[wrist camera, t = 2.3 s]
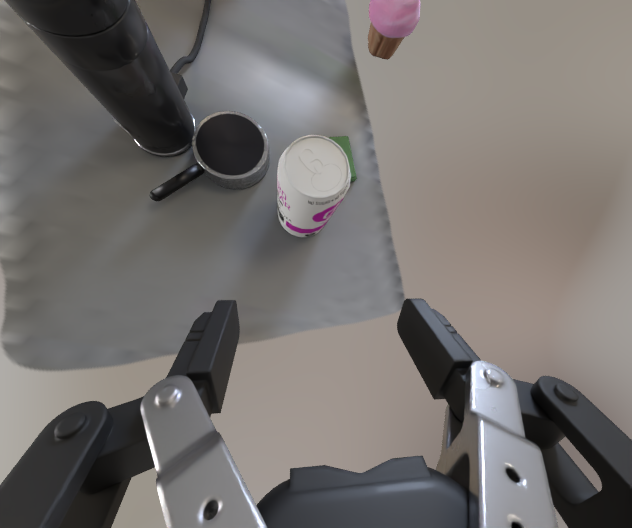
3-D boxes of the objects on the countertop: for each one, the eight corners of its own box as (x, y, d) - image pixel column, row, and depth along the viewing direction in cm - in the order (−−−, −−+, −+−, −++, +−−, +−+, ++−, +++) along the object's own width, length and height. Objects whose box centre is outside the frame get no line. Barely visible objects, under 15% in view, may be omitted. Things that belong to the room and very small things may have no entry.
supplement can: (336, 217, 40) (370, 172, 25) (300, 248, 38) (314, 219, 23) (304, 181, 39) (319, 115, 25) (267, 211, 38) (260, 158, 23)
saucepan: (241, 115, 39) (237, 97, 36) (282, 165, 39) (283, 152, 36) (137, 177, 35) (121, 164, 32) (183, 233, 35) (173, 226, 32)
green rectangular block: (327, 140, 41) (329, 135, 40) (346, 139, 42) (348, 134, 40) (336, 183, 40) (338, 179, 39) (354, 181, 41) (357, 177, 40)
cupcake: (399, 72, 46) (433, 12, 36) (357, 66, 44) (380, 1, 34) (397, 33, 47) (429, -36, 37) (356, 26, 45) (378, -48, 35)
